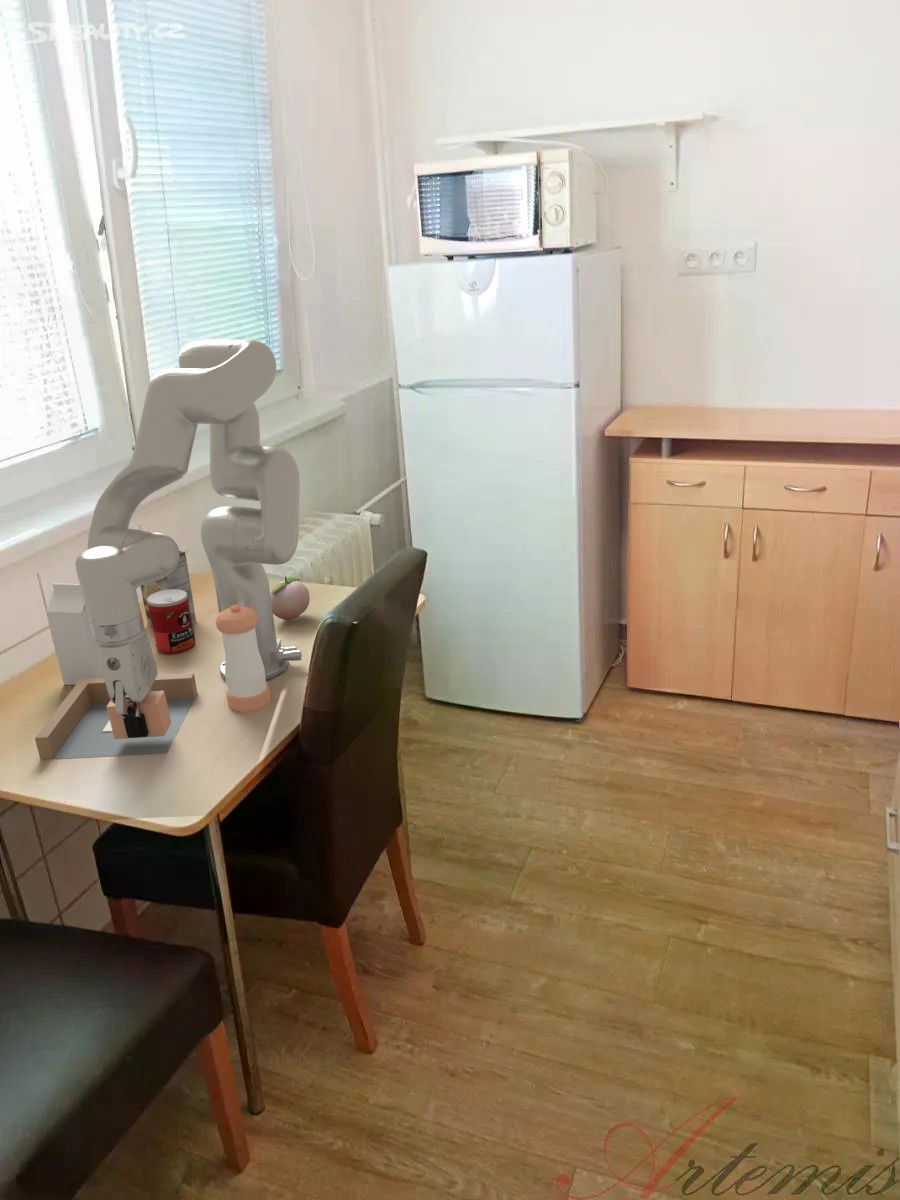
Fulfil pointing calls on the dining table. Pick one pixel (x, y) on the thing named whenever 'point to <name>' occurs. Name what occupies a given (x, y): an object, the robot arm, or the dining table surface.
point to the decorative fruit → (289, 598)
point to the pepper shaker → (242, 659)
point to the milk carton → (73, 635)
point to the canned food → (171, 621)
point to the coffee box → (171, 586)
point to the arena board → (88, 727)
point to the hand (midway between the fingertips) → (142, 727)
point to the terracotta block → (153, 711)
